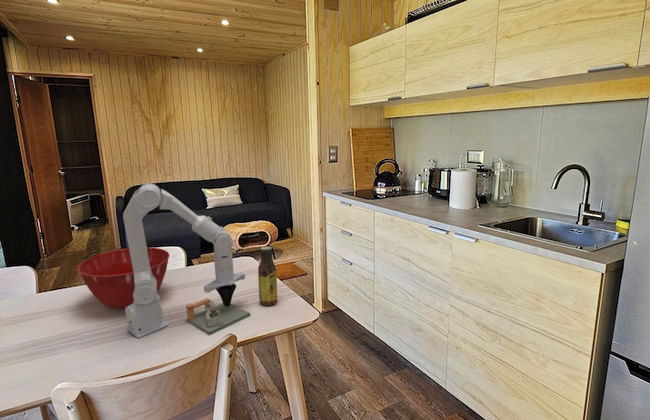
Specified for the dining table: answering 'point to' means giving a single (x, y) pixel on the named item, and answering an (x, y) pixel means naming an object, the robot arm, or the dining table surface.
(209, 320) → the latch
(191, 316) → the bracket
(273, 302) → the sauce bottle
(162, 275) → the mixing bowl
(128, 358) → the dining table surface
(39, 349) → the dining table surface
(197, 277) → the dining table surface
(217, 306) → the base
